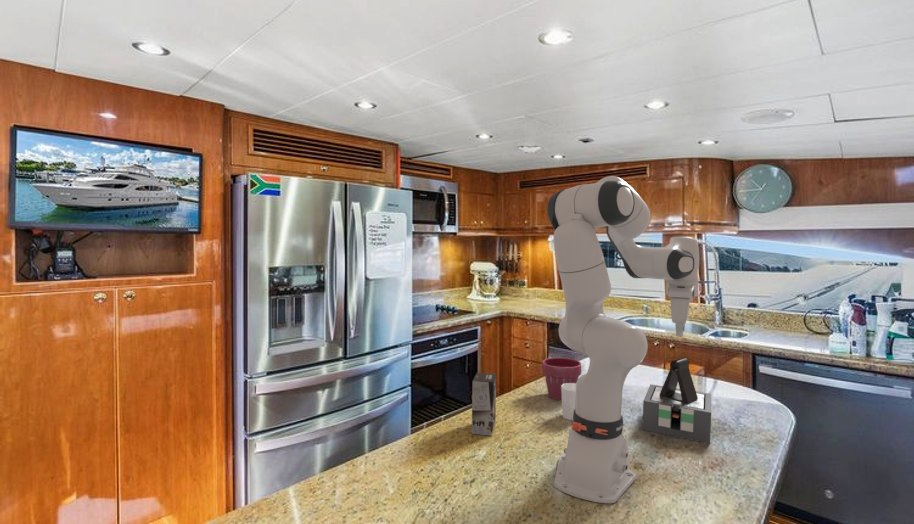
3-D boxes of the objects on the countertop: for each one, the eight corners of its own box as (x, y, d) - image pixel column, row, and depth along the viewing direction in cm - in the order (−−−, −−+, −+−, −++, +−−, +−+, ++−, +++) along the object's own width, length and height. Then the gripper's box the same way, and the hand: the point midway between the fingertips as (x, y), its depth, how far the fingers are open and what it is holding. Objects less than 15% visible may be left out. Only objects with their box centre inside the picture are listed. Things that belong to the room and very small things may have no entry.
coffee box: (492, 436, 132) (493, 382, 131) (471, 434, 134) (471, 380, 133) (496, 423, 141) (497, 373, 140) (475, 421, 143) (476, 371, 142)
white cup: (586, 422, 142) (587, 391, 142) (560, 420, 144) (561, 389, 143) (584, 413, 150) (585, 383, 150) (560, 411, 152) (560, 382, 151)
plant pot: (543, 388, 175) (544, 355, 174) (580, 391, 171) (581, 358, 171) (539, 400, 161) (540, 365, 161) (580, 405, 158) (581, 369, 157)
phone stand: (698, 399, 138) (699, 361, 138) (688, 403, 135) (689, 364, 134) (669, 391, 146) (670, 354, 145) (659, 395, 142) (660, 357, 141)
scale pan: (703, 416, 129) (703, 412, 128) (649, 406, 135) (650, 403, 135) (704, 398, 143) (704, 394, 143) (656, 390, 150) (656, 386, 150)
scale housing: (710, 444, 128) (711, 413, 128) (642, 430, 137) (643, 401, 137) (710, 421, 144) (711, 393, 144) (649, 410, 153) (650, 384, 153)
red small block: (678, 418, 132) (678, 416, 132) (672, 417, 132) (672, 415, 132) (679, 415, 134) (679, 413, 134) (673, 414, 134) (673, 412, 134)
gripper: (673, 285, 149) (671, 326, 150) (667, 291, 131) (666, 338, 132) (694, 286, 146) (693, 329, 147) (692, 293, 128) (690, 341, 129)
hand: (680, 333), depth 139 cm, fingers open, 8 cm apart
